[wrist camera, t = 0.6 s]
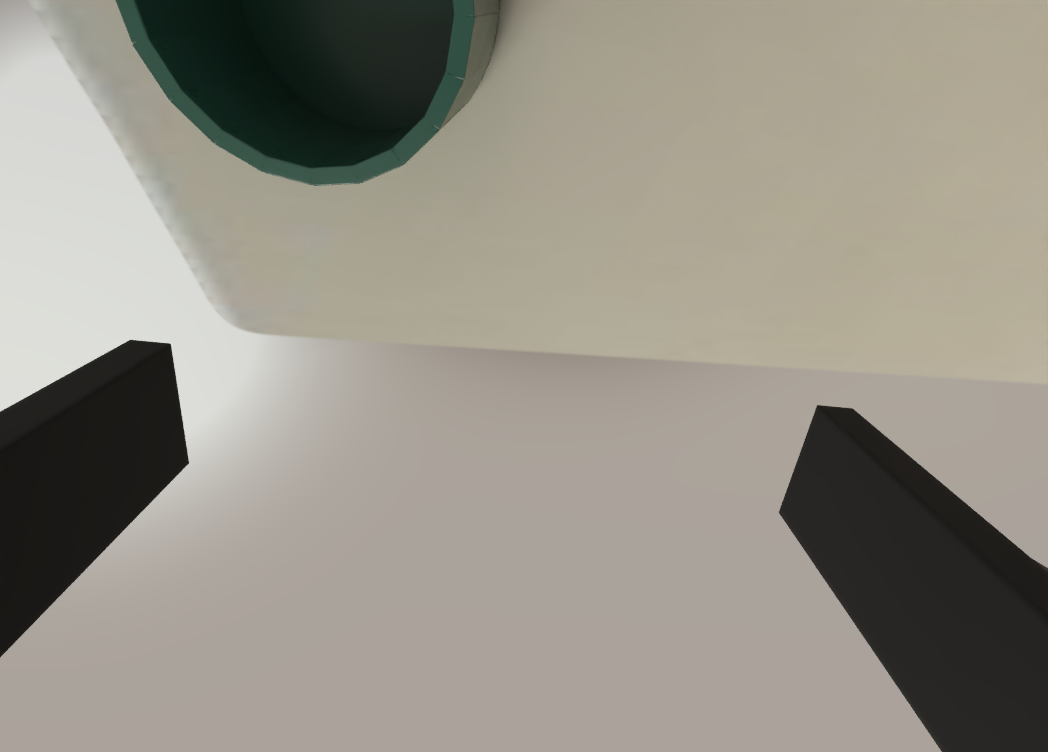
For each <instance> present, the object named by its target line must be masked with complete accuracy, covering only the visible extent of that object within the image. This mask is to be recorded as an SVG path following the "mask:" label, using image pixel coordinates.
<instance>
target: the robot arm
mask: <svg viewBox="0 0 1048 752" xmlns="http://www.w3.org/2000/svg"><path fill="white" fill-rule="evenodd" d="M188 464H189V461H188V455H187V447H186V441H185V435H184V428H183V421H182V416H181V408H180V402H179V395H178V389H177V383H176V376H175V369H174V363H173V356H172V349H171V344H168V343H157V342H146V341H136V340H129V341H127V342H126V343H124V344H122V345H120V346H118V347H117V348H115V349H113V350H111V351H110V352H108V353H106V354H104V355H102V356H100V357H99V358H97V359H95V360H93V361H91V362H89V363H88V364H86V365H84V366H83V367H80V368H79V369H77V370H75V371H73V372H72V373H70V374H68V375H66V376H65V377H62V378H61V379H59V380H57V381H55V382H53V383H51V384H50V385H48V386H46V387H44V388H42V389H41V390H39V391H37V392H35V393H33V394H32V395H30V396H28V397H26V398H24V399H23V400H21V401H19V402H17V403H16V404H14V405H12V406H10V407H8V408H6V409H4V410H3V411H1V412H0V657H1V656H2V655H3V654H4V653H5V652H6V651H7V650H8V648H10V647H11V646H12V645H13V644H14V643H15V641H16V640H17V639H18V638H19V637H20V636H21V635H22V634H23V633H24V632H25V631H26V630H27V629H28V628H29V627H30V626H31V625H32V624H33V623H34V622H35V621H36V620H37V619H38V618H39V617H40V616H41V615H42V614H43V613H44V612H45V611H46V610H47V609H48V608H49V606H50V605H51V604H52V603H53V602H54V601H55V600H56V599H57V598H58V597H59V596H60V595H61V594H62V593H63V592H64V591H65V590H66V589H67V588H68V587H69V586H70V585H71V584H72V583H73V582H74V581H75V580H76V579H77V578H78V577H79V576H80V575H81V573H83V572H84V571H85V569H86V568H87V567H88V566H89V565H90V564H91V563H92V562H93V561H94V560H95V559H96V558H97V557H98V556H99V555H100V554H101V553H102V552H103V551H104V550H105V549H106V547H108V546H109V545H110V543H112V542H113V541H114V540H115V538H117V536H118V535H120V533H121V532H122V531H123V530H124V529H125V528H126V527H127V526H128V525H129V524H130V523H131V522H132V521H133V520H134V519H135V518H136V517H137V516H138V515H139V514H140V513H141V512H142V511H143V510H144V509H145V508H146V507H147V506H148V505H149V503H151V502H152V501H153V499H154V498H155V497H156V496H157V495H158V494H159V493H160V492H161V491H162V490H163V489H164V488H165V487H166V486H167V485H168V484H169V483H170V482H171V481H172V480H173V479H174V478H175V477H176V476H177V475H178V474H179V473H180V472H181V471H182V470H183V468H185V466H186V465H188ZM779 513H780V515H781V516H782V518H783V519H784V521H785V522H786V523H787V525H788V527H789V528H790V529H791V531H792V532H793V534H794V535H795V537H796V538H797V540H798V541H799V543H800V544H801V546H802V547H803V549H804V550H805V551H806V553H807V554H808V556H809V557H810V559H811V560H812V562H813V563H814V565H815V566H816V568H817V569H818V570H819V572H820V574H821V575H822V576H823V578H824V579H825V581H826V582H827V584H828V585H829V587H830V588H831V590H832V591H833V592H834V594H835V595H836V597H837V598H838V600H839V601H840V603H841V604H842V606H843V607H844V609H845V610H846V612H847V613H848V615H849V616H850V618H851V619H852V620H853V622H854V623H855V625H856V626H857V628H858V629H859V631H860V632H861V634H862V635H863V636H864V638H865V639H866V641H867V642H868V644H869V645H870V647H871V648H872V650H873V651H874V653H875V654H876V656H877V657H878V658H879V660H880V662H881V663H882V664H883V666H884V667H885V669H886V670H887V672H888V673H889V675H890V676H891V678H892V679H893V681H894V682H895V684H896V685H897V686H898V688H899V689H900V691H901V692H902V694H903V695H904V697H905V698H906V700H907V701H908V702H909V704H910V705H911V707H912V708H913V710H914V711H915V713H916V714H917V716H918V717H919V718H920V720H921V721H922V723H923V724H924V726H925V728H926V729H927V730H928V732H929V733H930V735H931V736H932V738H933V739H934V741H935V742H936V744H937V745H938V747H939V748H940V750H941V751H942V752H1048V568H1046V567H1045V566H1043V565H1041V564H1040V563H1038V562H1036V561H1035V560H1033V559H1031V558H1030V557H1029V556H1028V555H1027V554H1025V553H1024V552H1023V551H1022V550H1021V549H1020V548H1018V547H1017V546H1016V545H1015V544H1014V543H1012V542H1011V541H1010V540H1009V539H1007V538H1006V537H1005V536H1004V535H1003V534H1001V533H1000V532H999V531H998V530H997V529H996V528H994V527H993V526H992V525H991V524H990V523H988V522H987V521H986V520H985V519H984V518H983V517H981V516H980V515H979V514H978V513H977V512H975V511H974V510H973V509H972V508H971V507H969V506H968V505H967V504H966V503H965V502H963V501H962V500H961V499H960V498H958V497H957V496H956V495H955V494H954V493H953V492H951V491H950V490H949V489H948V488H947V487H946V486H944V485H943V484H942V483H941V482H940V481H938V480H937V479H936V478H935V477H934V476H932V475H931V474H930V473H929V472H928V471H926V470H925V469H924V468H923V467H922V466H920V465H919V464H918V463H917V462H916V461H914V460H913V459H912V458H911V457H910V456H909V455H907V454H906V453H905V452H904V451H903V450H901V449H900V448H899V447H898V446H897V445H895V444H894V443H893V442H892V441H891V440H889V439H888V438H887V437H886V436H884V435H883V434H882V433H881V432H880V431H879V430H877V429H876V428H875V427H874V426H873V425H871V424H870V423H869V422H868V421H867V420H866V419H864V418H863V417H862V416H861V415H860V414H858V413H857V412H856V411H855V410H854V409H851V408H841V407H829V406H820V405H818V406H817V408H816V410H815V413H814V416H813V419H812V421H811V424H810V427H809V430H808V433H807V436H806V438H805V441H804V444H803V447H802V449H801V452H800V456H799V458H798V461H797V464H796V466H795V469H794V472H793V474H792V477H791V480H790V483H789V486H788V488H787V491H786V494H785V497H784V500H783V502H782V505H781V508H780V511H779Z"/></svg>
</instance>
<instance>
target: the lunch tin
mask: <svg viewBox="0 0 1048 752" xmlns="http://www.w3.org/2000/svg"><path fill="white" fill-rule="evenodd" d="M116 3H117V5H118V8H119V10H120V13H121V15H122V18H123V21H124V23H125V26H126V28H127V31H128V33H129V36H130V38H131V41H132V43H134V44H133V46H134V48H135V49H136V51H137V52H138V54H139V55H140V57H141V58H142V60H143V61H144V63H145V64H146V66H147V67H148V69H149V70H150V72H151V73H152V75H153V76H154V78H155V79H156V81H157V82H158V84H159V85H160V87H161V88H162V90H163V91H164V93H165V94H166V96H167V97H168V99H169V100H171V102H172V103H173V104H174V105H175V106H176V107H177V108H178V109H179V110H180V111H181V112H182V113H183V114H184V115H185V116H186V117H187V118H188V119H189V120H190V121H191V122H192V123H193V124H194V125H195V126H197V127H198V128H199V129H200V130H201V131H202V132H203V133H204V134H205V135H206V136H207V137H208V138H209V139H210V140H211V141H212V142H213V143H215V144H216V145H217V146H219V147H221V148H223V149H224V150H226V151H228V152H229V153H231V154H233V155H234V156H236V157H238V158H240V159H241V160H243V161H245V162H246V163H248V164H250V165H251V166H253V167H255V168H257V169H258V170H260V171H262V172H265V173H268V174H271V175H275V176H279V177H282V178H286V179H290V180H294V181H297V182H301V183H305V184H309V185H313V186H321V185H340V184H359V183H363V182H365V181H367V180H370V179H372V178H374V177H377V176H379V175H381V174H384V173H386V172H388V171H391V170H393V169H395V168H398V167H400V166H402V165H404V164H405V163H406V162H407V161H408V160H409V159H410V158H411V157H412V156H413V155H414V154H415V153H417V152H418V151H419V150H420V149H421V148H422V147H423V146H424V145H425V144H426V143H427V142H428V141H429V140H430V139H431V138H432V137H433V136H434V135H435V134H436V133H437V132H438V131H439V130H440V129H441V128H442V127H443V126H444V125H445V124H446V123H448V122H449V121H450V120H451V119H452V118H453V117H454V116H455V115H456V114H457V113H458V112H459V111H460V110H461V109H462V108H463V107H464V106H465V105H466V104H467V103H468V102H469V100H470V99H471V97H472V96H473V94H474V92H475V90H476V88H477V86H478V85H479V83H480V81H481V79H482V77H483V75H484V73H485V70H486V68H487V67H488V65H489V62H490V60H491V55H492V50H493V47H494V43H495V38H496V32H497V25H498V18H499V0H116Z"/></svg>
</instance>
